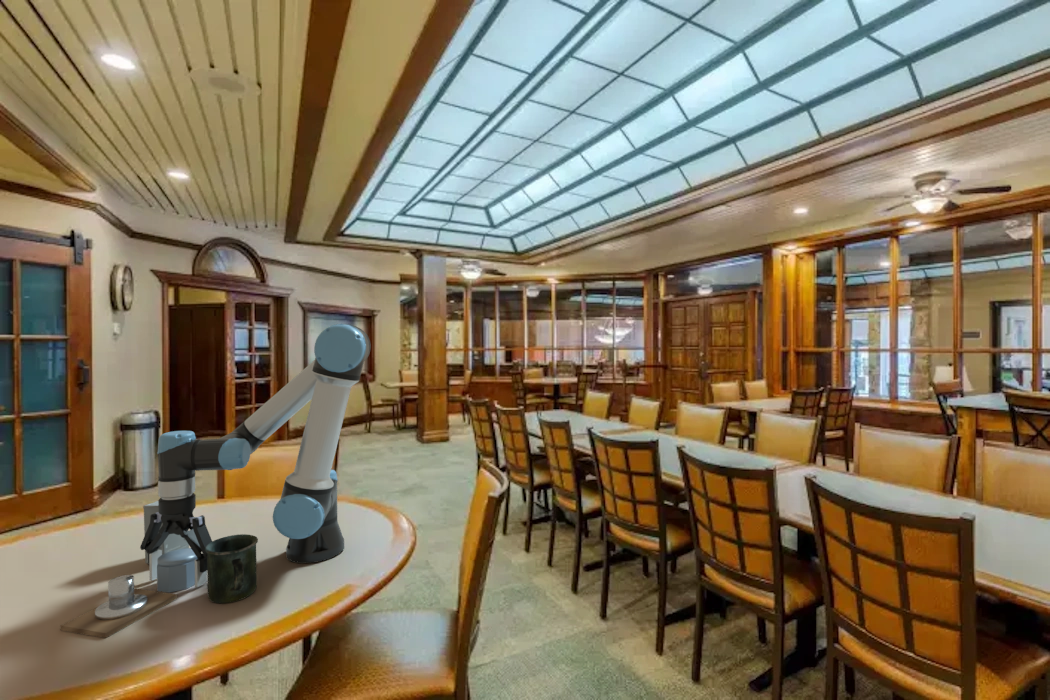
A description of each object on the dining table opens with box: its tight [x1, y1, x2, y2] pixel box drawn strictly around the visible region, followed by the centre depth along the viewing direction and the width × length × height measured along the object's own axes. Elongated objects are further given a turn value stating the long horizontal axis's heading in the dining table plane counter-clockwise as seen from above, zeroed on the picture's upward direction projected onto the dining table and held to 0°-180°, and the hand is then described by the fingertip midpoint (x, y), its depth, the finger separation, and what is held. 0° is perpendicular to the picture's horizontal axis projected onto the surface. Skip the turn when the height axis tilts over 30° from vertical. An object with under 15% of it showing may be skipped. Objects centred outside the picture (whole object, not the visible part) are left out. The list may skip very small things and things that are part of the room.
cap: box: [156, 547, 197, 593], centre depth 126 cm, size 8×8×7 cm
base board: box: [59, 588, 178, 639], centre depth 112 cm, size 12×16×1 cm
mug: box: [205, 533, 259, 604], centre depth 119 cm, size 11×15×12 cm
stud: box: [95, 574, 147, 620], centre depth 112 cm, size 9×9×6 cm
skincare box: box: [142, 500, 190, 565], centre depth 140 cm, size 8×7×16 cm
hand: (178, 581), depth 126 cm, fingers open, 13 cm apart
